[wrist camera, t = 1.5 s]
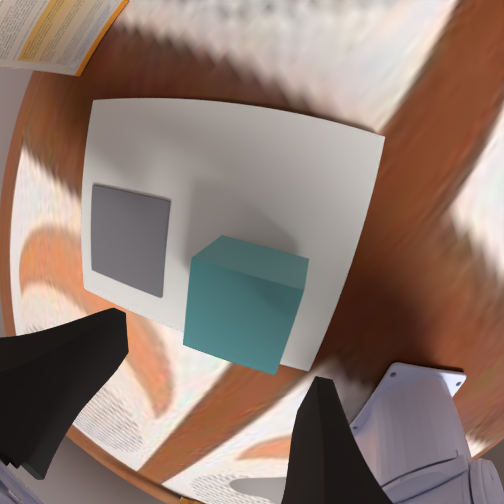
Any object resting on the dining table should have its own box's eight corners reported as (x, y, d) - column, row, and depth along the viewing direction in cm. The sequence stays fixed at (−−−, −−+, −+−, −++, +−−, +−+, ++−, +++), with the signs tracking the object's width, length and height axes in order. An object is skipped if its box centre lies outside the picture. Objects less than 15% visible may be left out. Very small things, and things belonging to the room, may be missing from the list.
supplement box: (104, -6, 14) (1, -45, 2) (132, 0, 14) (16, -52, 2) (58, 65, 17) (-53, 55, 5) (79, 79, 17) (-50, 69, 5)
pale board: (309, 362, 19) (308, 371, 18) (91, 284, 23) (84, 288, 22) (381, 138, 14) (384, 137, 13) (101, 101, 17) (93, 100, 16)
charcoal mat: (162, 296, 19) (160, 298, 19) (93, 268, 21) (91, 270, 20) (171, 201, 17) (169, 201, 17) (94, 184, 18) (92, 184, 18)
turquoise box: (286, 332, 17) (275, 375, 13) (210, 309, 18) (183, 344, 14) (309, 258, 15) (304, 290, 11) (222, 235, 16) (191, 257, 12)
